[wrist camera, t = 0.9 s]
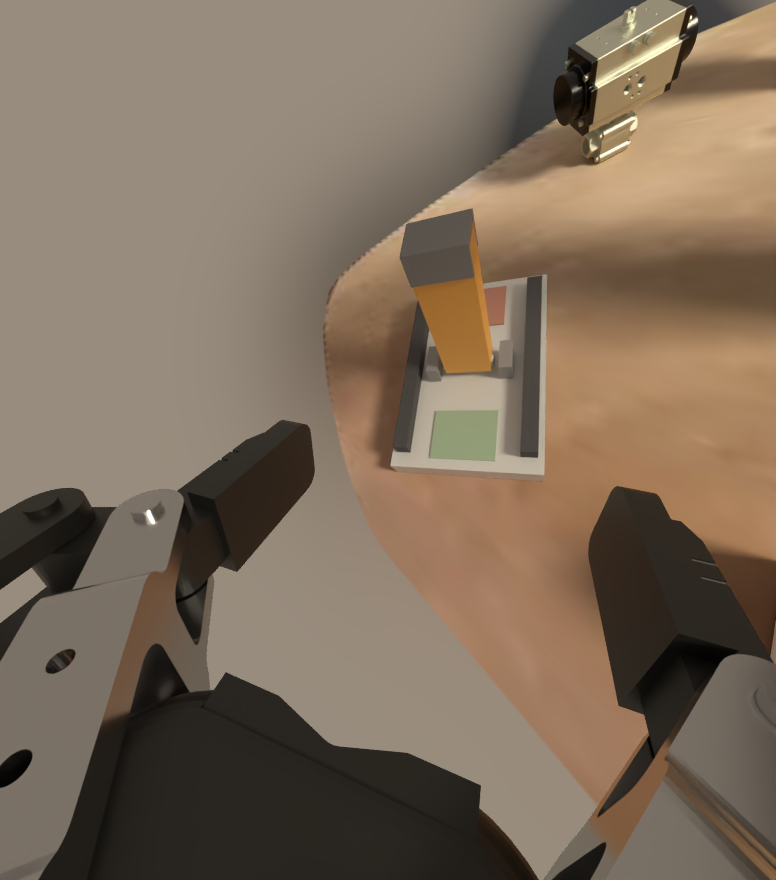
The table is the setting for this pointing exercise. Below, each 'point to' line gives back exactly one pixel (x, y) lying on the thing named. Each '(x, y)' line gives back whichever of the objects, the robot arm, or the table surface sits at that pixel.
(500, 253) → the table surface
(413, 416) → the dark grey mounting rails
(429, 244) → the lever
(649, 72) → the pneumatic valve
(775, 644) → the medicine bottle
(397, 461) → the breaker panel
